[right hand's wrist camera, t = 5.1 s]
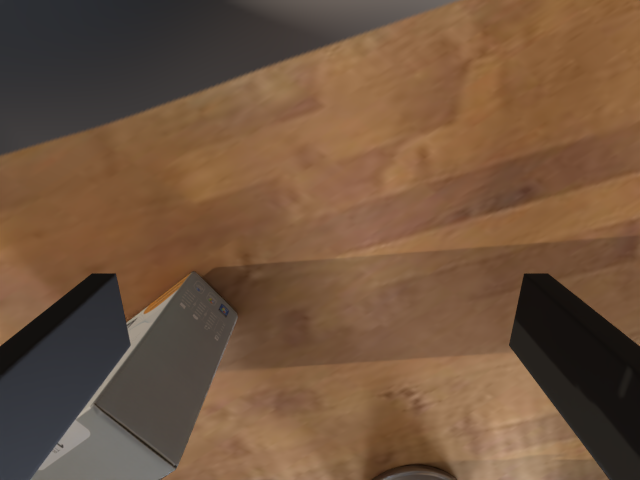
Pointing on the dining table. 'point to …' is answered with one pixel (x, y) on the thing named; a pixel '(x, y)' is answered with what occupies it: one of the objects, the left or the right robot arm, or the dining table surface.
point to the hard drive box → (149, 391)
